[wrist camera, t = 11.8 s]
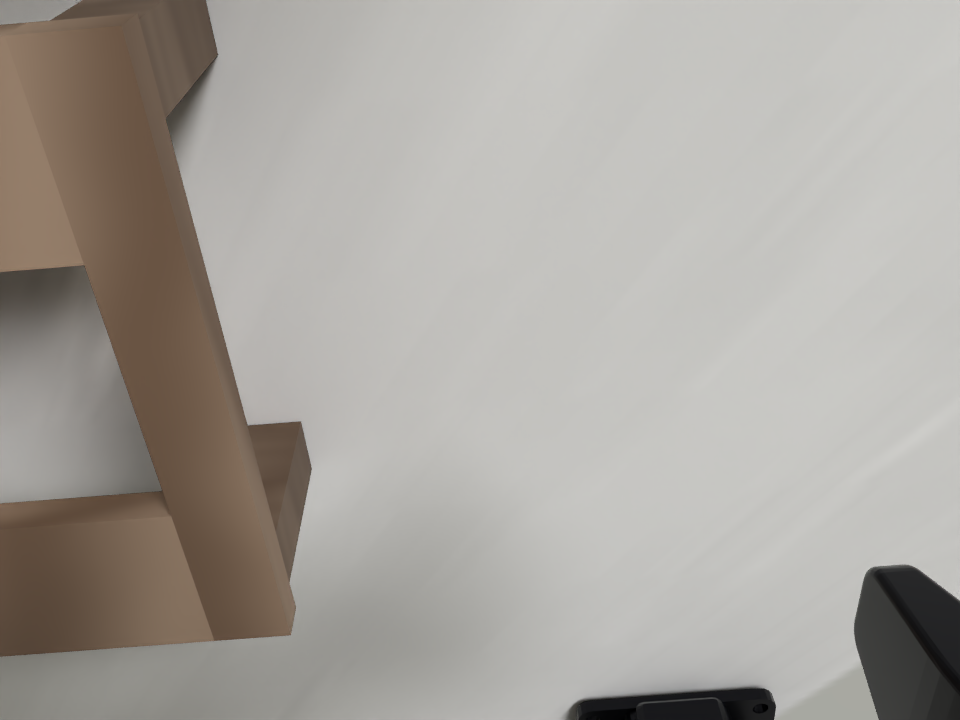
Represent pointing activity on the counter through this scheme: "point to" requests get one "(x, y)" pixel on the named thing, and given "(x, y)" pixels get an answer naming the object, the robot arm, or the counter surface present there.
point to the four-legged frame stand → (137, 350)
